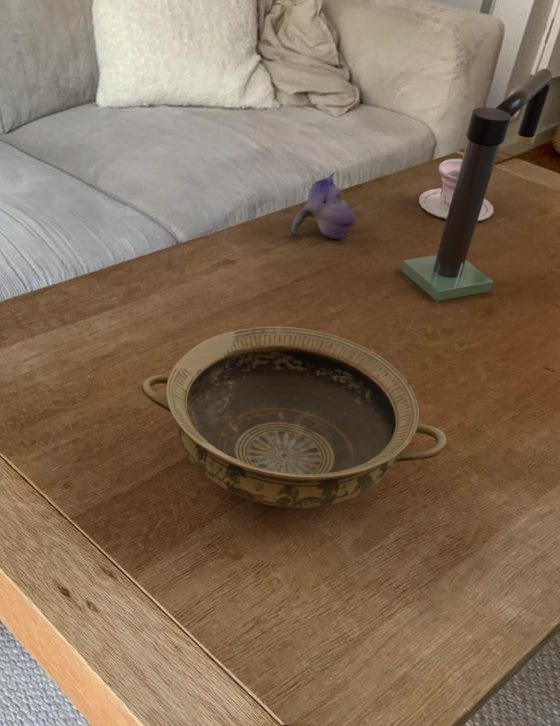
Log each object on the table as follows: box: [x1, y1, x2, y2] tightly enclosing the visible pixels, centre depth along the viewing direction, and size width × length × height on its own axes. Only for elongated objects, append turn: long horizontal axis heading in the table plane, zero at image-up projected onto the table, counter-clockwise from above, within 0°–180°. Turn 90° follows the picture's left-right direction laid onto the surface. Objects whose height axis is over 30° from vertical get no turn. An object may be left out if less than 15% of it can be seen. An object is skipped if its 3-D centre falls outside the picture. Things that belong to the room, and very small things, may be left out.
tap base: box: [400, 138, 501, 302], centre depth 109 cm, size 9×9×20 cm
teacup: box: [418, 158, 494, 222], centre depth 132 cm, size 12×12×6 cm
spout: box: [465, 68, 553, 146], centre depth 111 cm, size 29×5×11 cm, turn 147°
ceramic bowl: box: [141, 325, 448, 509], centre depth 81 cm, size 30×24×10 cm
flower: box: [290, 172, 356, 241], centre depth 122 cm, size 9×9×10 cm
